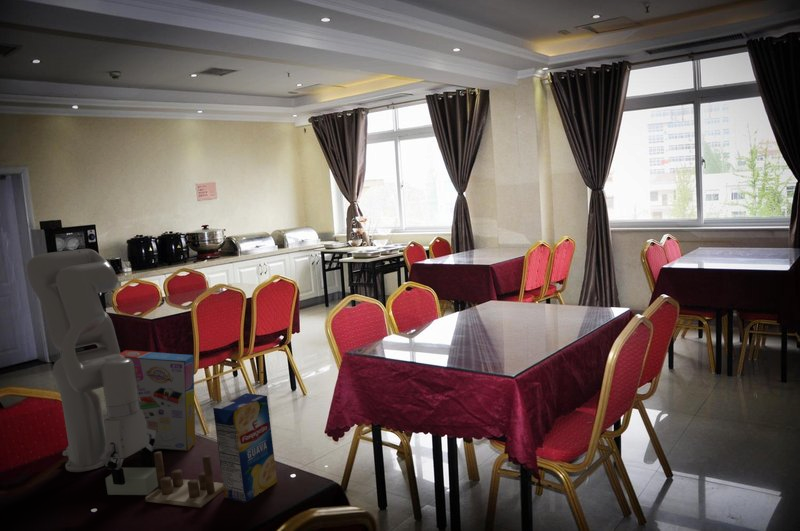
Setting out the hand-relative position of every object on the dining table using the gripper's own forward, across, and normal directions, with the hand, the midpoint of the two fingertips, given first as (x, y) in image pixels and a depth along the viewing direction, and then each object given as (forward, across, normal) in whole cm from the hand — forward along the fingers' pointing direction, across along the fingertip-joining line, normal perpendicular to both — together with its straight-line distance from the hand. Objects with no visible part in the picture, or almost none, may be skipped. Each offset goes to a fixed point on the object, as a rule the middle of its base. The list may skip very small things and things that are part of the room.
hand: (134, 475), depth 155 cm
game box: (+2, -22, -13) cm, 26 cm away
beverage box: (+5, -5, +30) cm, 31 cm away
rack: (+4, 0, +15) cm, 16 cm away
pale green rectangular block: (+4, 0, -1) cm, 4 cm away
